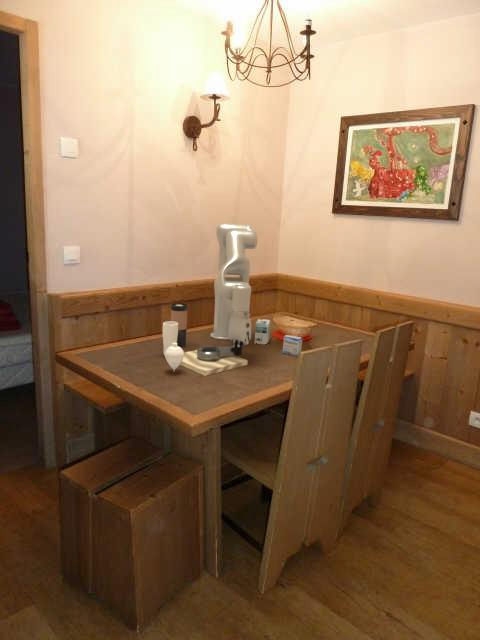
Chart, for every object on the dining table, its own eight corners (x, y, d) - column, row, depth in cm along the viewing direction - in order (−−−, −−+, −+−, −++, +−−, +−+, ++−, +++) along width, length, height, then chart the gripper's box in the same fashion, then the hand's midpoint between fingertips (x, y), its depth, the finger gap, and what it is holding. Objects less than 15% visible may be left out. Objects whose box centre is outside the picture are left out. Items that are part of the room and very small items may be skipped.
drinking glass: (174, 358, 203) (175, 325, 200) (159, 356, 204) (160, 323, 201) (179, 354, 209) (180, 322, 206) (165, 352, 211) (165, 320, 207)
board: (210, 351, 217) (211, 346, 217) (247, 364, 201) (247, 359, 200) (169, 360, 201) (169, 355, 200) (205, 375, 184) (205, 370, 184)
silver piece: (200, 361, 194) (201, 350, 193) (194, 354, 203) (194, 343, 202) (242, 358, 201) (243, 347, 200) (234, 352, 210) (235, 341, 209)
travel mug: (187, 343, 227) (188, 303, 222) (184, 348, 219) (185, 306, 215) (172, 342, 227) (173, 302, 223) (168, 346, 220) (169, 305, 215)
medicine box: (282, 353, 220) (283, 336, 218) (285, 351, 224) (287, 334, 222) (297, 356, 217) (299, 339, 215) (301, 354, 220) (302, 337, 218)
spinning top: (174, 367, 192) (175, 339, 189) (187, 372, 187) (188, 343, 185) (160, 371, 186) (161, 342, 184) (173, 376, 182) (174, 346, 179)
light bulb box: (267, 345, 233) (268, 324, 231) (254, 343, 234) (255, 323, 232) (269, 339, 243) (270, 319, 241) (256, 338, 244) (258, 318, 242)
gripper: (259, 316, 195) (256, 358, 199) (234, 309, 205) (232, 349, 209) (246, 318, 190) (243, 361, 194) (221, 311, 200) (219, 352, 204)
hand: (237, 355), depth 201 cm, fingers closed
